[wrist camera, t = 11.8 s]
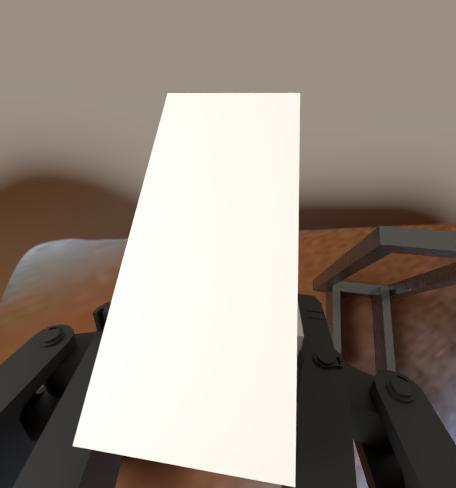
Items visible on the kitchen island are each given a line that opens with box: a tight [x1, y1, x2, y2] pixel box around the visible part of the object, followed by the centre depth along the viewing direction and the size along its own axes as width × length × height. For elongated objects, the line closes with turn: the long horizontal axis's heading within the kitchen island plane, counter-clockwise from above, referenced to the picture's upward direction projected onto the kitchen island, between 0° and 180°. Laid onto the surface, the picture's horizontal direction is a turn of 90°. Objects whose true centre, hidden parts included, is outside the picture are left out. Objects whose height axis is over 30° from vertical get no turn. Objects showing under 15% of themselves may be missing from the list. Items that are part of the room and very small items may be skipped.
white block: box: [73, 93, 300, 487], centre depth 13 cm, size 4×9×15 cm, turn 174°
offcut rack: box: [313, 226, 456, 372], centre depth 26 cm, size 12×12×21 cm
